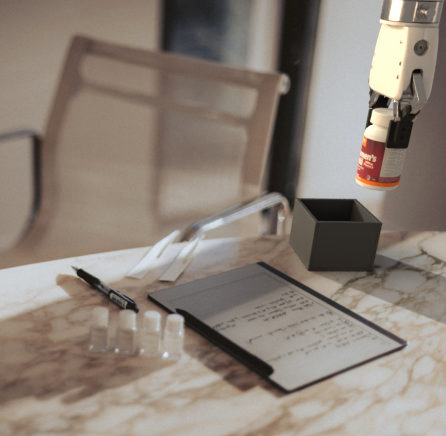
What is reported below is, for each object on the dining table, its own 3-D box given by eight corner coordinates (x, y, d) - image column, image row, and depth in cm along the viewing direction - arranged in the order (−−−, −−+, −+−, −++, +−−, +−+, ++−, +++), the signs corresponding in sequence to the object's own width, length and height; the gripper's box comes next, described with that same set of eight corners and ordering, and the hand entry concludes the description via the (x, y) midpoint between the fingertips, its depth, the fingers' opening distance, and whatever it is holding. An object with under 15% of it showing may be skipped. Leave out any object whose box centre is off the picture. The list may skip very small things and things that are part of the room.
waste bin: (347, 243, 112) (356, 198, 109) (372, 271, 102) (382, 223, 99) (288, 242, 112) (295, 197, 108) (307, 270, 102) (315, 222, 98)
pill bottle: (346, 179, 96) (359, 107, 92) (380, 177, 98) (395, 106, 94) (371, 193, 91) (386, 117, 87) (407, 190, 93) (423, 115, 88)
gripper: (473, 20, 77) (440, 159, 84) (407, 9, 93) (383, 127, 100) (415, 19, 77) (386, 158, 84) (358, 8, 93) (338, 126, 100)
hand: (385, 140), depth 92 cm, fingers closed on pill bottle, 6 cm apart
